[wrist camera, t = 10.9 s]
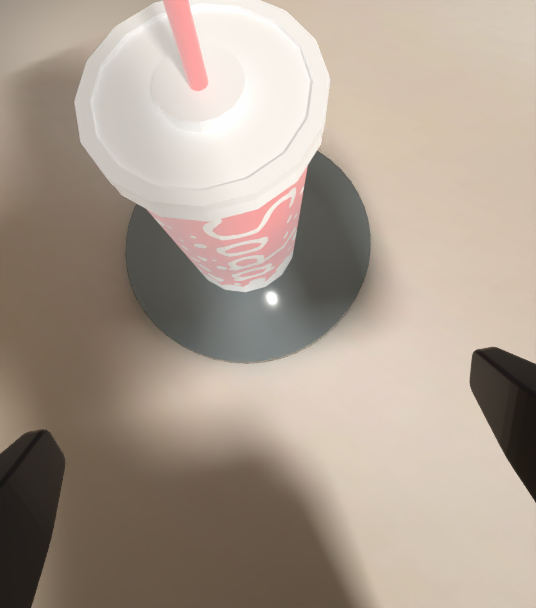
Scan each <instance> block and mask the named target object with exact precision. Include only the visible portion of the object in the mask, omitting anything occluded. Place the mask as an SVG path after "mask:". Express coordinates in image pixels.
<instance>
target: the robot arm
mask: <svg viewBox="0 0 536 608" xmlns="http://www.w3.org/2000/svg"><path fill="white" fill-rule="evenodd" d="M470 387H471V390H472V392H473V394H474V396H475V398H476V400H477V402H478V404H479V406H480V408H481V410H482V412H483V414H484V416H485V418H486V420H487V422H488V423H489V425H490V427H491V429H492V431H493V433H494V435H495V437H496V439H497V441H498V443H499V445H500V447H501V449H502V450H503V452H504V454H505V456H506V457H507V459H508V461H509V462H510V464H511V466H512V467H513V469H514V470H515V472H516V473H517V475H518V476H519V478H520V479H521V481H522V482H523V484H524V485H525V487H526V488H527V490H528V491H529V493H530V494H531V496H532V498H533V499H534V501H535V502H536V364H535V363H532V362H530V361H528V360H525V359H523V358H520V357H518V356H516V355H513V354H511V353H509V352H506V351H504V350H502V349H499V348H497V347H488V348H483V349H478V350H475V351H474V352H473V354H472V361H471V371H470ZM64 469H65V458H64V455H63V453H62V451H61V449H60V448H59V446H58V444H57V443H56V441H55V440H54V438H53V436H52V435H51V433H50V432H49V431H48V430H44V429H42V430H37V431H31V432H27V433H25V434H23V435H22V436H21V437H20V438H19V439H17V440H16V441H15V442H14V443H13V444H11V445H10V446H9V447H8V448H7V449H5V450H4V451H3V452H2V453H1V454H0V608H31V606H32V603H33V599H34V596H35V593H36V589H37V586H38V582H39V579H40V576H41V572H42V569H43V565H44V562H45V559H46V555H47V552H48V548H49V544H50V541H51V537H52V532H53V528H54V523H55V517H56V512H57V507H58V501H59V496H60V491H61V485H62V480H63V475H64Z"/></svg>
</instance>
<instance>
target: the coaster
mask: <svg viewBox="0 0 536 608" xmlns="http://www.w3.org/2000/svg"><path fill="white" fill-rule="evenodd" d="M369 256H370V229H369V222H368V218H367V215H366V211H365V208H364V205H363V203H362V201H361V198H360V196H359V194H358V192H357V190H356V189H355V187H354V186H353V184H352V183H351V181H350V180H349V178H348V177H347V176H346V175H345V174H344V173H343V171H342V170H341V169H340V168H339V167H338V166H337V165H335V164H334V163H333V162H332V161H331V160H330V159H329V158H327V157H326V156H324V155H323V154H321V153H320V152H319V151H316V153H315V154H314V156H313V158H312V159H311V161H310V162H309V164H308V167H307V173H306V178H305V184H304V190H303V196H302V202H301V208H300V214H299V220H298V226H297V232H296V238H295V244H294V250H293V256H292V259H291V261H290V262H289V264H288V266H287V267H286V269H285V270H284V272H283V274H282V275H281V276H280V277H278V278H277V279H275V280H274V281H273V282H271V283H270V284H269V285H267V286H266V287H263V288H259V289H255V290H252V291H248V292H240V291H232V290H225V289H223V288H221V287H219V286H218V285H216V284H214V283H212V282H210V281H209V280H207V279H206V277H205V276H204V275H203V274H202V273H201V272H200V270H199V269H198V268H197V267H196V266H195V265H194V264H193V262H192V261H191V260H190V259H189V258H188V257H187V255H186V254H185V253H184V252H183V251H182V250H181V249H180V247H179V246H178V245H177V244H176V243H175V242H174V240H173V239H172V238H171V237H170V236H169V235H168V234H167V232H166V231H165V230H164V229H163V228H162V227H161V225H160V224H159V223H158V222H157V221H156V220H155V218H154V217H153V216H152V215H151V214H150V213H149V212H148V210H147V209H146V208H144V207H142V206H140V205H138V204H137V205H136V207H135V209H134V211H133V214H132V217H131V220H130V224H129V227H128V233H127V239H126V263H127V271H128V275H129V279H130V283H131V286H132V289H133V291H134V293H135V296H136V298H137V300H138V302H139V303H140V305H141V307H142V308H143V310H144V312H145V313H146V314H147V315H148V317H149V318H150V319H151V320H152V322H153V323H154V324H155V325H156V326H157V327H158V328H159V329H160V330H161V331H163V332H164V333H165V334H166V335H167V336H168V337H170V338H171V339H173V340H174V341H176V342H177V343H179V344H180V345H182V346H183V347H185V348H187V349H189V350H191V351H193V352H195V353H197V354H199V355H202V356H205V357H208V358H211V359H214V360H219V361H224V362H229V363H245V364H248V363H261V362H267V361H272V360H277V359H281V358H284V357H287V356H289V355H292V354H295V353H297V352H299V351H301V350H303V349H305V348H307V347H309V346H311V345H312V344H314V343H315V342H317V341H318V340H320V339H321V338H322V337H324V336H325V335H326V334H327V333H328V332H329V331H330V330H332V329H333V328H334V327H335V326H336V325H337V324H338V322H339V321H340V320H341V319H342V318H343V317H344V315H345V314H346V313H347V311H348V310H349V308H350V307H351V305H352V303H353V302H354V300H355V298H356V296H357V294H358V292H359V290H360V288H361V286H362V283H363V281H364V278H365V275H366V271H367V268H368V263H369Z"/></svg>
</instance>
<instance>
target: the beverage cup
mask: <svg viewBox="0 0 536 608" xmlns="http://www.w3.org/2000/svg"><path fill="white" fill-rule="evenodd" d="M329 85H330V77H329V74H328V71H327V69H326V66H325V63H324V60H323V58H322V55H321V52H320V49H319V47H318V44H317V41H316V39H315V38H313V37H312V36H311V35H310V34H309V33H308V32H307V31H306V30H305V29H304V28H303V27H302V26H301V25H300V24H299V23H298V22H297V21H296V20H295V19H294V18H293V17H292V16H291V15H290V14H289V13H288V12H287V11H285V10H283V9H280V8H278V7H276V6H273V5H271V4H268V3H266V2H263V1H261V0H163V1H160V2H156V3H153V4H151V5H150V6H148V7H147V8H145V9H143V10H142V11H140V12H138V13H137V14H135V15H134V16H132V17H130V18H129V19H127V20H125V21H124V22H122V23H120V24H119V25H117V26H115V27H114V28H113V30H112V31H111V32H110V33H109V34H108V36H107V37H106V38H105V39H104V41H103V42H102V43H101V44H100V45H99V47H98V48H97V49H96V50H95V51H94V53H93V54H92V55H91V56H90V57H89V59H88V60H87V61H86V65H85V68H84V71H83V74H82V77H81V81H80V84H79V87H78V90H77V94H76V97H75V100H74V104H75V111H76V117H77V124H78V130H79V137H80V143H81V144H82V145H83V147H84V148H85V149H86V151H87V152H88V154H89V155H90V156H91V158H92V159H93V160H94V162H95V163H96V164H97V166H98V167H99V169H100V170H101V171H102V173H103V174H104V175H105V177H106V178H107V179H108V181H109V182H110V183H111V185H113V186H115V187H116V189H117V190H118V191H119V193H120V194H121V195H122V196H124V197H125V198H127V199H129V200H131V201H133V202H135V203H136V204H138V205H140V206H142V207H144V208H146V209H147V210H148V212H149V213H150V214H151V215H152V216H153V217H154V218H155V220H156V221H157V222H158V223H159V224H160V225H161V227H162V228H163V229H164V230H165V231H166V232H167V234H168V235H169V236H170V237H171V238H172V239H173V240H174V242H175V243H176V244H177V245H178V246H179V247H180V249H181V250H182V251H183V252H184V253H185V254H186V255H187V257H188V258H189V259H190V260H191V261H192V262H193V264H194V265H195V266H196V267H197V268H198V269H199V270H200V272H201V273H202V274H203V275H204V276H205V277H206V279H207V280H209V281H210V282H212V283H214V284H216V285H218V286H219V287H221V288H223V289H225V290H232V291H240V292H248V291H252V290H255V289H259V288H263V287H266V286H267V285H269V284H270V283H271V282H273V281H274V280H275V279H277V278H278V277H280V276H281V275H282V274H283V272H284V270H285V269H286V267H287V266H288V264H289V262H290V261H291V259H292V256H293V250H294V244H295V238H296V232H297V226H298V220H299V214H300V208H301V202H302V196H303V190H304V184H305V178H306V173H307V167H308V164H309V162H310V161H311V159H312V158H313V156H314V154H315V153H316V151H317V150H318V148H319V146H320V145H321V141H322V133H323V131H324V126H325V118H326V110H327V102H328V94H329Z"/></svg>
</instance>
